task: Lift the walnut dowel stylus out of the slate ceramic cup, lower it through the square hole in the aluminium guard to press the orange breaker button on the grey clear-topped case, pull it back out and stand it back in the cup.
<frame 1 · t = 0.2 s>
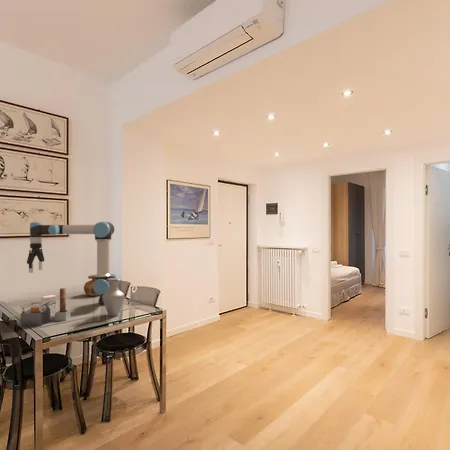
hand: (36, 271, 235), 28 cm above the table, fingers open, 13 cm apart
ink box: (48, 313, 224), on the table
breaker button: (35, 310, 199), point 8 cm above the table, slide at 0.0 cm
grey clear-topped case: (35, 323, 199), on the table
clay pot: (95, 295, 281), on the table
vase: (113, 315, 217), on the table
stylus: (62, 303, 208), in the pen cup
pen cup: (62, 319, 208), on the table
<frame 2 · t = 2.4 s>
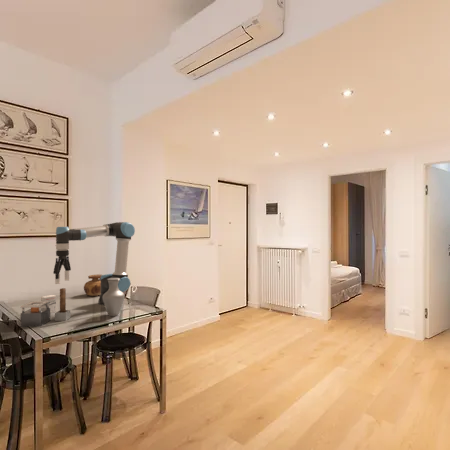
hand: (62, 282, 208), 24 cm above the table, fingers open, 13 cm apart
nothing on the table moved.
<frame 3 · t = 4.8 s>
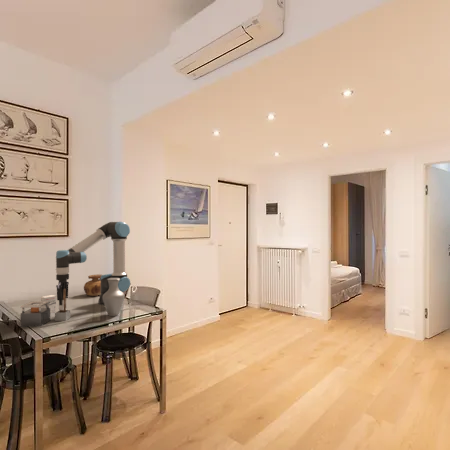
hand: (62, 309, 208), 7 cm above the table, fingers closed on stylus, 3 cm apart
stylus: (62, 303, 208), in the pen cup, touching gripper
everything else where it was.
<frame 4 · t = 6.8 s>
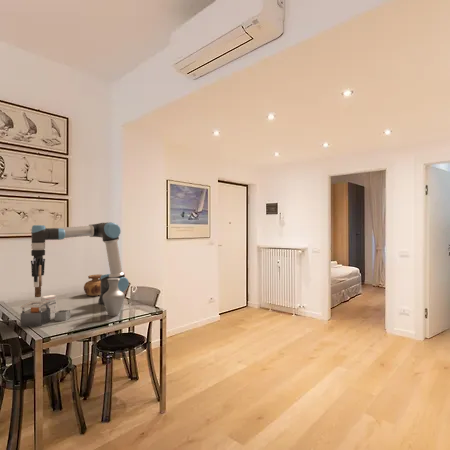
hand: (37, 286, 200), 23 cm above the table, fingers closed on stylus, 3 cm apart
stylus: (38, 280, 200), point 27 cm above the table, touching gripper
everything else where it was.
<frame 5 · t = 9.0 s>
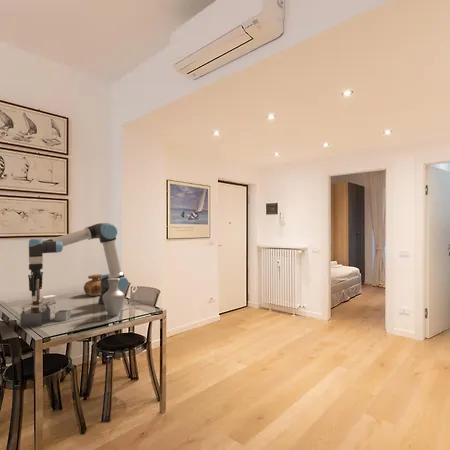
hand: (35, 300, 199), 15 cm above the table, fingers closed on stylus, 3 cm apart
breaker button: (35, 314, 199), point 5 cm above the table, slide at 2.5 cm, touching stylus
stylus: (35, 294, 199), point 18 cm above the table, touching breaker button, gripper
everything else where it was.
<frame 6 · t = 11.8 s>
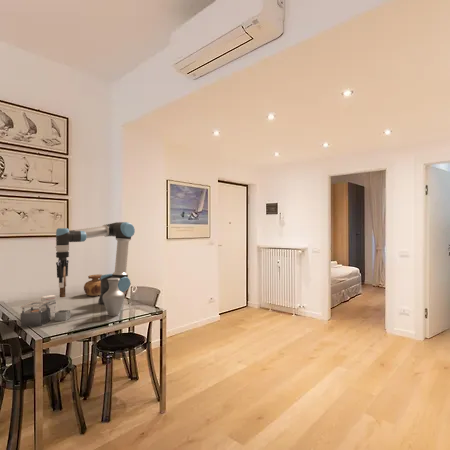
hand: (62, 286, 208), 21 cm above the table, fingers closed on stylus, 3 cm apart
breaker button: (35, 314, 199), point 5 cm above the table, slide at 2.5 cm
stylus: (62, 281, 208), point 25 cm above the table, touching gripper
everything else where it was.
when the fingers open (9 cm above the table, at t = 14.1 s): stylus drops 2 cm, resting in pen cup.
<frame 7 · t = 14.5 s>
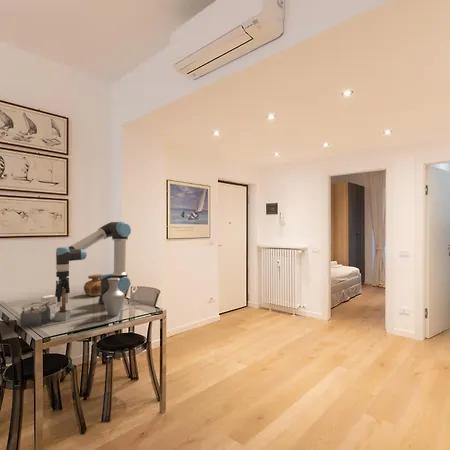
hand: (62, 304, 208), 9 cm above the table, fingers open, 9 cm apart
stylus: (62, 303, 208), in the pen cup
everything else where it was.
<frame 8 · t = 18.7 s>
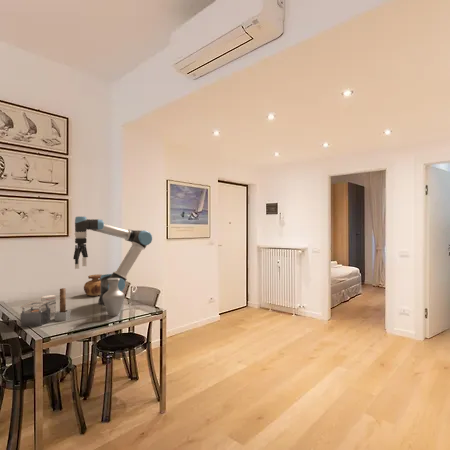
hand: (80, 267, 226), 32 cm above the table, fingers open, 13 cm apart
nothing on the table moved.
at the end: breaker button slide at 2.5 cm; stylus 0.0 cm off-centre on the pen cup, point 10.0 cm above the pen cup's base; the gripper is holding nothing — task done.
